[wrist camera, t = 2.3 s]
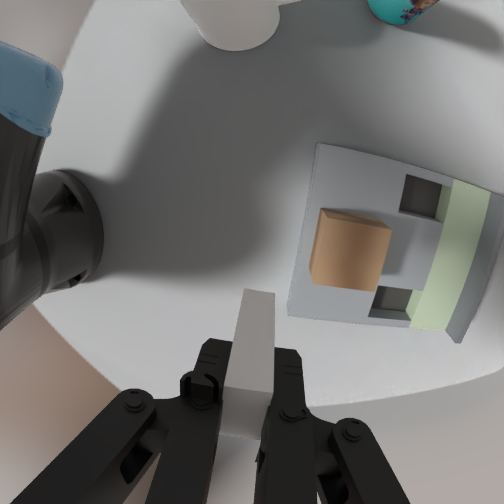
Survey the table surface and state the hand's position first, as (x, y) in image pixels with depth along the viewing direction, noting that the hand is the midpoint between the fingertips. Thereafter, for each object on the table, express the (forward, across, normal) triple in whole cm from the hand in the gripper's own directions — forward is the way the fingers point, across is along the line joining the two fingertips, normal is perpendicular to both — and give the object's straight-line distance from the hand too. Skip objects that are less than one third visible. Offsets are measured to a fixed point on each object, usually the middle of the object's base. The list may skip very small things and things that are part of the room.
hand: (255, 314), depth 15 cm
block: (+15, +8, 0) cm, 17 cm away
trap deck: (+17, +15, 0) cm, 23 cm away
